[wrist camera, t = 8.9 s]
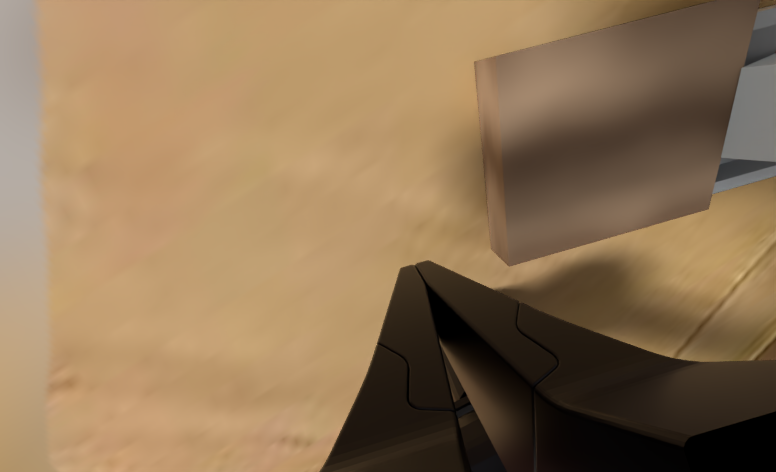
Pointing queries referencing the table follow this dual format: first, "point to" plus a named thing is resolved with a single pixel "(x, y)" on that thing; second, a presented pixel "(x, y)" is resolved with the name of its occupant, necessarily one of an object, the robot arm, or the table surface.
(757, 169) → the tray
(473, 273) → the table surface
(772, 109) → the white block
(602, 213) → the walnut board
